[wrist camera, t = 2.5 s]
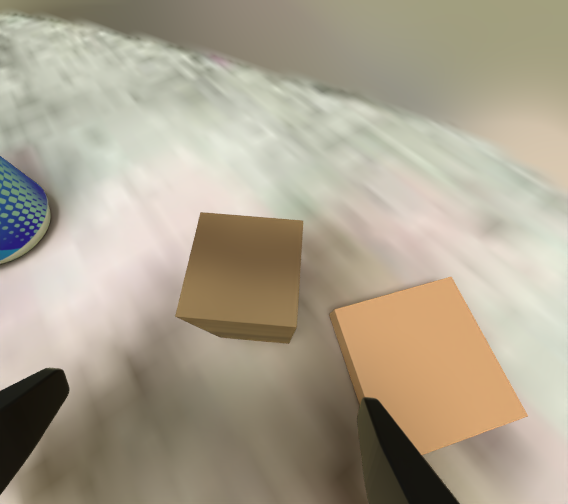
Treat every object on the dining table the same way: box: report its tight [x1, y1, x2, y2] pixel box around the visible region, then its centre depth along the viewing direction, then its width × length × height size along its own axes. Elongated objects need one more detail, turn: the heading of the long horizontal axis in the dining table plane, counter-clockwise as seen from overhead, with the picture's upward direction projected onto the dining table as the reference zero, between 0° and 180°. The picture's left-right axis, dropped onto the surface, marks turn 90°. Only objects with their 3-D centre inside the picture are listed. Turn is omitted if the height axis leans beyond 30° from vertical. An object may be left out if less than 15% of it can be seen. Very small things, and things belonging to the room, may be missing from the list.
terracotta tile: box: [329, 277, 528, 455], centre depth 18 cm, size 9×9×2 cm
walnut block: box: [175, 212, 303, 344], centre depth 16 cm, size 5×5×9 cm
